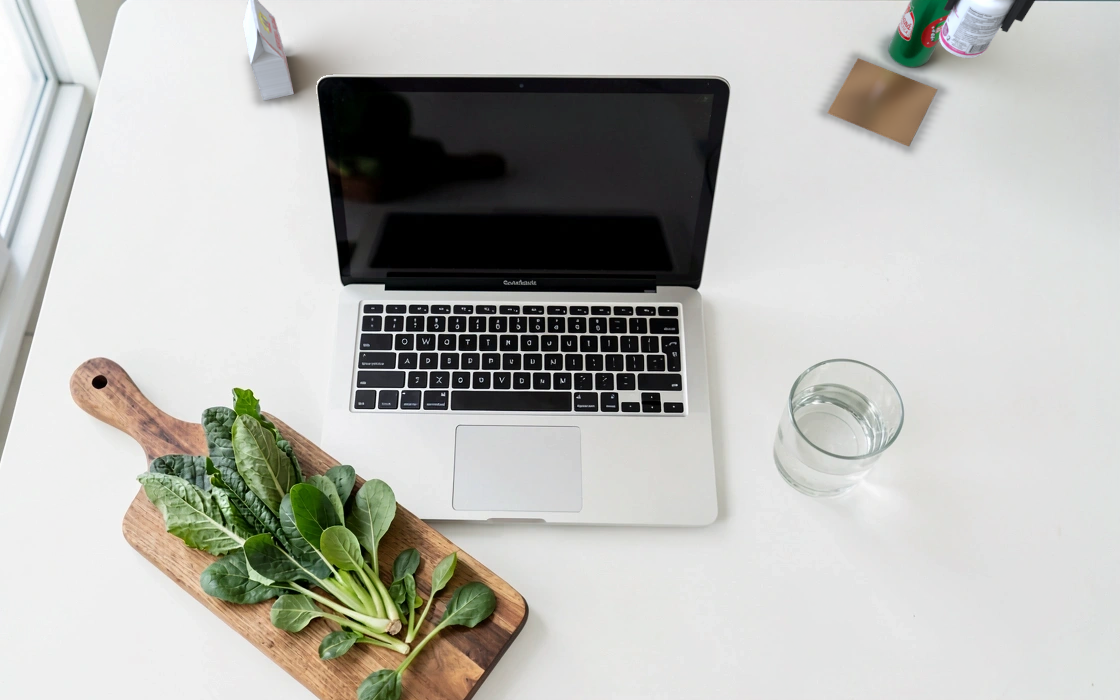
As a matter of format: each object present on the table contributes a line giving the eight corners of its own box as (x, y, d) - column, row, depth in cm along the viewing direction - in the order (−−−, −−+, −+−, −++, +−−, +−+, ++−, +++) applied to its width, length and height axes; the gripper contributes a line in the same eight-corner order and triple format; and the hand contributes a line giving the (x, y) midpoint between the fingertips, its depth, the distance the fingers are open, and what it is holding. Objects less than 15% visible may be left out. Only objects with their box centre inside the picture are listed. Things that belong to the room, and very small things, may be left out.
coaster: (936, 91, 108) (937, 89, 108) (907, 148, 104) (909, 146, 104) (856, 60, 110) (858, 57, 110) (826, 115, 106) (827, 112, 106)
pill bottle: (943, 18, 90) (983, -55, 83) (991, 33, 89) (1035, -40, 82) (932, 50, 88) (971, -22, 81) (981, 65, 88) (1025, -6, 80)
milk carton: (263, 102, 108) (241, 37, 99) (256, 61, 110) (233, -6, 101) (294, 96, 108) (274, 30, 99) (286, 55, 111) (265, -12, 102)
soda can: (887, 37, 112) (926, -47, 101) (928, 43, 111) (973, -41, 100) (885, 67, 110) (926, -16, 99) (928, 73, 109) (973, -9, 98)
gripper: (1212, -173, 69) (1079, 18, 85) (993, -237, 73) (905, -43, 89) (1192, -116, 66) (1058, 70, 82) (965, -186, 70) (879, 5, 86)
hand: (980, 10), depth 86 cm, fingers closed on pill bottle, 4 cm apart
